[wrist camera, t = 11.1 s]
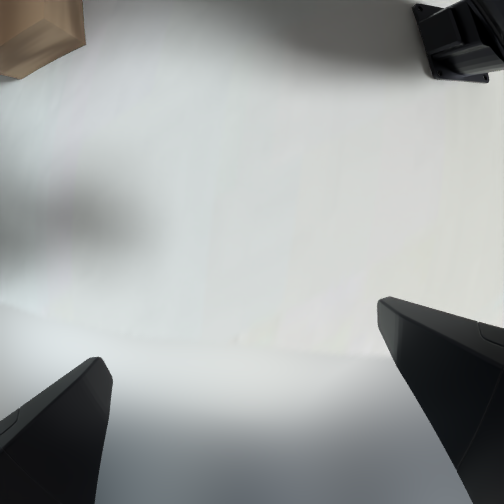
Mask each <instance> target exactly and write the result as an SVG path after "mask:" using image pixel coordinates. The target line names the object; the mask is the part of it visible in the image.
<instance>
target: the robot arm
mask: <svg viewBox="0 0 504 504" xmlns="http://www.w3.org/2000/svg"><path fill="white" fill-rule="evenodd" d="M418 8H419V9H420V11H419V10H418ZM413 12H414V14H415V17H416V20H417V23H418V26H419V29H420V32H421V35H422V38H423V42H424V45H425V48H426V52H427V55H428V59H429V63H430V67H431V70H432V74H433V76H434V78H436V79H437V80H450V81H464V82H475V83H488V82H489V76H488V72H494V71H500V70H504V0H461V1H459V2H457V3H455V4H453V5H451V6H449V7H446V8H440V7H435V6H429V5H424V4H415V5H414V6H413ZM437 71H438V72H439V74H440V75H438V73H437ZM483 76H484V77H483ZM377 315H378V327H379V330H380V332H381V334H382V336H383V338H384V340H385V343H386V345H387V347H388V349H389V351H390V353H391V355H392V358H393V360H394V362H395V364H396V366H397V368H398V369H399V371H400V373H401V374H402V376H403V378H404V379H405V381H406V382H407V384H408V385H409V387H410V389H411V391H412V392H413V394H414V396H415V397H416V399H417V401H418V402H419V404H420V406H421V408H422V409H423V411H424V413H425V414H426V416H427V418H428V420H429V421H430V423H431V425H432V426H433V428H434V430H435V432H436V434H437V435H438V437H439V439H440V441H441V443H442V444H443V446H444V448H445V450H446V452H447V454H448V455H449V457H450V459H451V461H452V463H453V465H454V467H455V468H456V470H457V473H458V475H459V477H460V478H461V480H462V482H463V484H464V486H465V488H466V490H467V492H468V494H469V496H470V498H471V500H472V502H473V504H504V328H500V327H496V326H492V325H489V324H485V323H482V322H477V321H474V320H471V319H467V318H464V317H460V316H457V315H453V314H450V313H446V312H443V311H439V310H436V309H432V308H429V307H425V306H422V305H418V304H415V303H411V302H408V301H404V300H401V299H397V298H394V297H386V298H383V299H380V300H379V301H378V303H377ZM112 385H113V379H112V376H111V374H110V372H109V370H108V368H107V367H106V365H105V363H104V361H103V360H102V358H100V357H92V358H89V359H87V360H86V361H84V362H83V363H82V364H80V365H79V366H77V367H76V368H74V369H73V370H72V371H70V372H69V373H68V374H66V375H65V376H63V377H62V378H60V379H59V380H58V381H56V382H55V383H54V384H52V385H51V386H49V387H48V388H46V389H45V390H44V391H42V392H41V393H39V394H38V395H37V396H35V397H34V398H32V399H31V400H30V401H28V402H27V403H25V404H24V405H23V406H21V407H20V408H19V409H17V410H16V411H14V412H13V413H11V414H10V415H9V416H7V417H6V418H4V419H3V420H1V421H0V504H95V496H96V495H95V494H96V488H97V481H98V475H99V468H100V463H101V456H102V451H103V446H104V440H105V435H106V429H107V425H108V419H109V412H110V401H111V393H112Z"/></svg>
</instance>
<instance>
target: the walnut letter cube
mask: <svg viewBox="0 0 504 504" xmlns="http://www.w3.org/2000/svg"><path fill="white" fill-rule="evenodd" d="M84 45H86V40H85V29H84V17H83V2H82V0H0V75H4V76H9V77H13V78H17V79H23V78H24V77H26V76H28V75H29V74H31V73H33V72H34V71H36V70H38V69H39V68H41V67H43V66H45V65H47V64H48V63H50V62H52V61H54V60H56V59H58V58H60V57H62V56H64V55H66V54H68V53H70V52H72V51H74V50H76V49H78V48H80V47H82V46H84Z"/></svg>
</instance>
